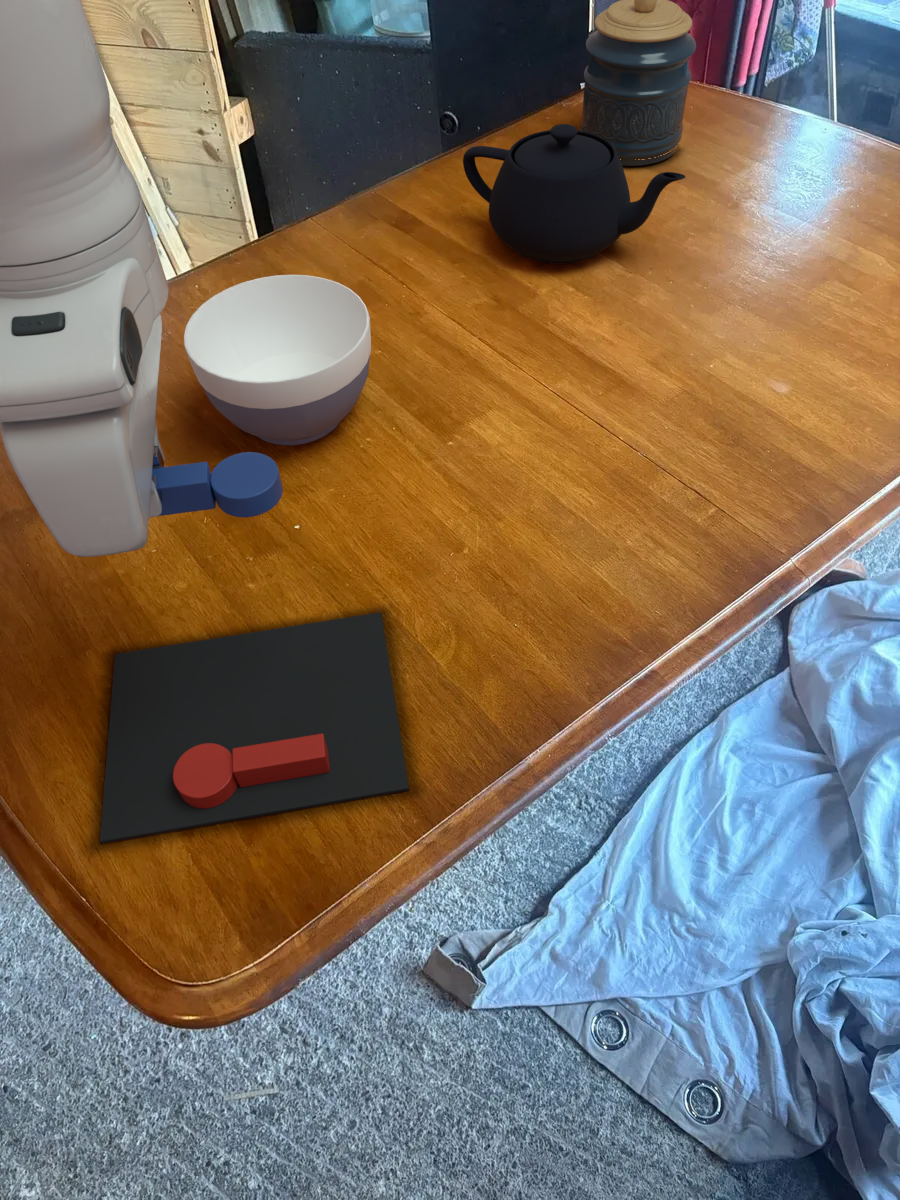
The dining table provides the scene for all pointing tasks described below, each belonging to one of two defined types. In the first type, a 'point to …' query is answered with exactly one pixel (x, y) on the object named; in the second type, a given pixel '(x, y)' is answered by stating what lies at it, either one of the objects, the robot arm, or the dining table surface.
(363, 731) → the mat
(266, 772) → the red spoon
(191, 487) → the blue spoon
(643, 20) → the canister
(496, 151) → the teapot
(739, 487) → the dining table surface
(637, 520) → the dining table surface
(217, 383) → the bowl
